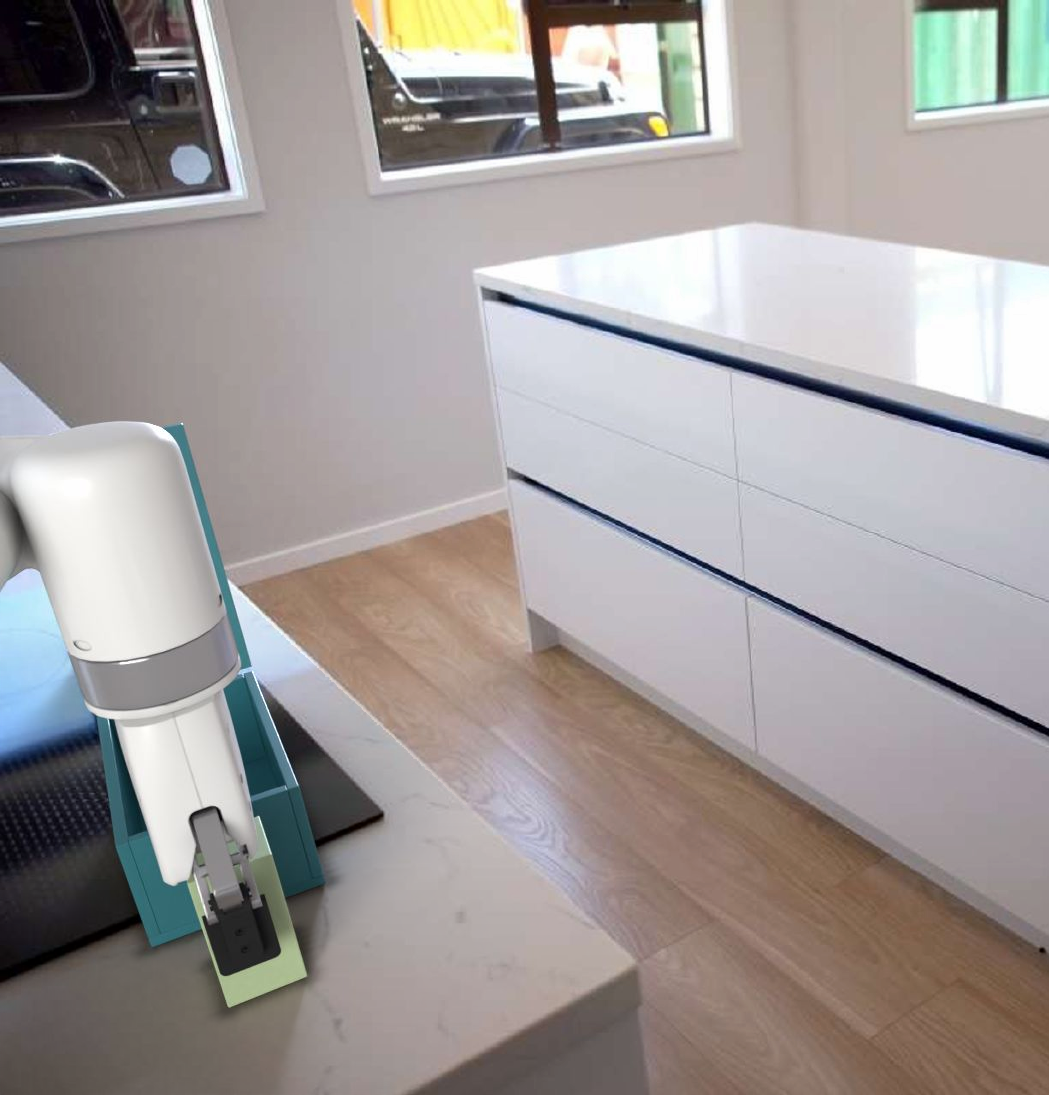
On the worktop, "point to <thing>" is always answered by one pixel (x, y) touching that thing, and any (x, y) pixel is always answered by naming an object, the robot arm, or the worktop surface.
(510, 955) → the worktop surface
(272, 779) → the box
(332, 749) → the worktop surface
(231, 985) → the carton
